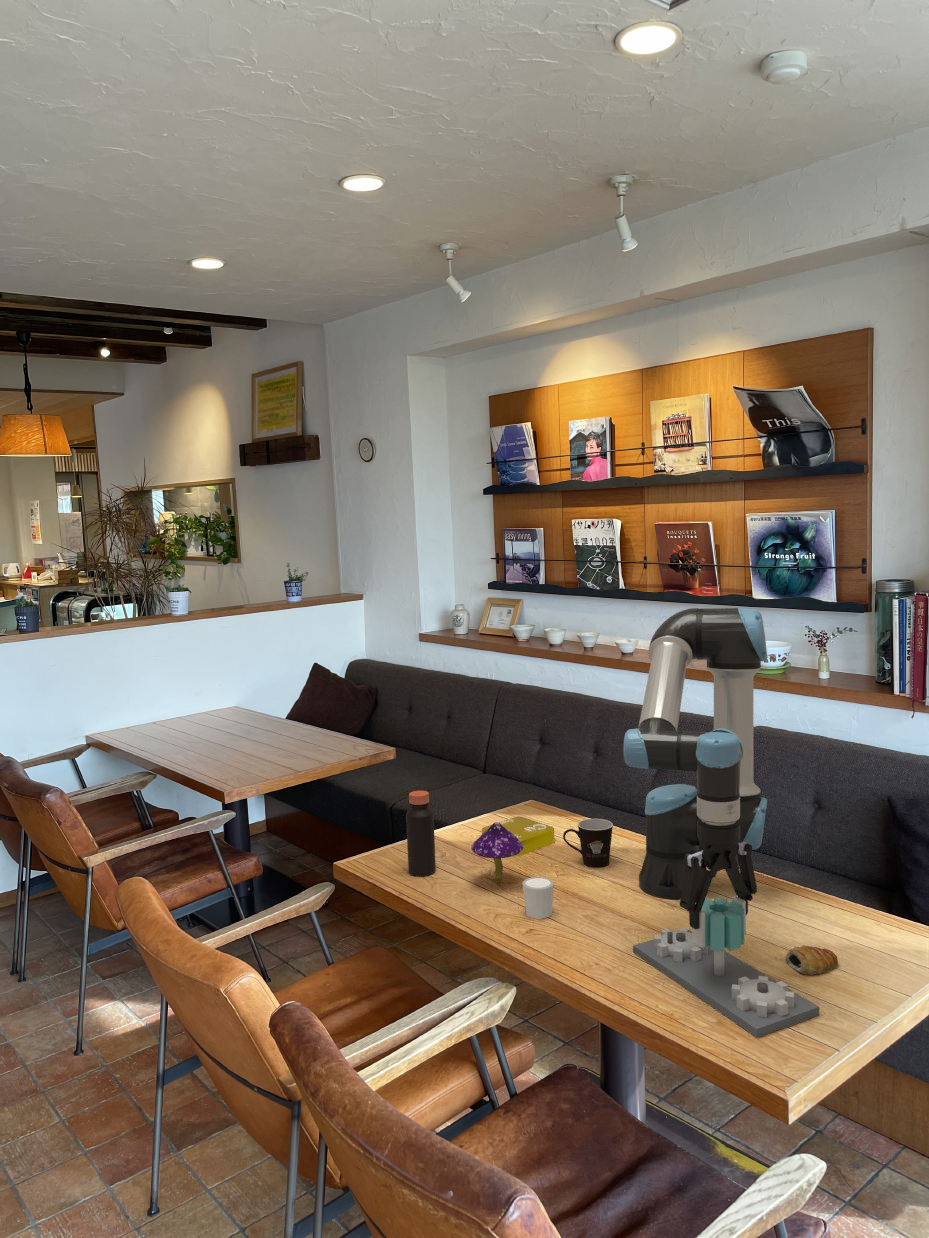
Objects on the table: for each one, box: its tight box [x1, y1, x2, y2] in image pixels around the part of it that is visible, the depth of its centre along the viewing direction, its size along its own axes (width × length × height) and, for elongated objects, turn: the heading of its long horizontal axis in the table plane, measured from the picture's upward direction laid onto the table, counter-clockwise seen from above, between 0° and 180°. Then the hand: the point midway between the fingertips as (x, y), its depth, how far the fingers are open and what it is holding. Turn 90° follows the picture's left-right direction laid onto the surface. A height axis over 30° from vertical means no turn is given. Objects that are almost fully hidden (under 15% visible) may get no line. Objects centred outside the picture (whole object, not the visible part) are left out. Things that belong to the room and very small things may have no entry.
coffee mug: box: [562, 818, 614, 869], centre depth 228 cm, size 12×9×10 cm
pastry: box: [785, 945, 839, 976], centre depth 173 cm, size 9×7×4 cm
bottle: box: [405, 790, 437, 877], centre depth 225 cm, size 7×7×20 cm
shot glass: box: [521, 876, 555, 920], centre depth 200 cm, size 7×7×7 cm
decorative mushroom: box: [470, 821, 524, 884], centre depth 216 cm, size 12×12×15 cm
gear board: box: [632, 927, 820, 1038], centre depth 168 cm, size 14×34×8 cm, turn 26°
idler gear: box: [695, 897, 745, 951], centre depth 167 cm, size 9×9×6 cm
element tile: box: [481, 816, 555, 857], centre depth 244 cm, size 15×15×5 cm
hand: (719, 937), depth 167 cm, fingers closed on idler gear, 9 cm apart
